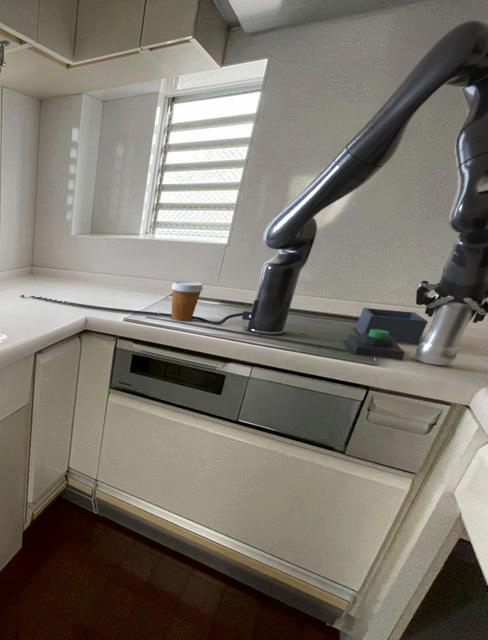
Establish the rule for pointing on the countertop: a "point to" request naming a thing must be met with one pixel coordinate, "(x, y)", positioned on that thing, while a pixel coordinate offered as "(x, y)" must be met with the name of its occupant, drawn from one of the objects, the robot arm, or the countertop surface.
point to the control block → (375, 346)
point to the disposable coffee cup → (184, 299)
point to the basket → (393, 324)
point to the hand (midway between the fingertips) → (452, 316)
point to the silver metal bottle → (445, 333)
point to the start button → (378, 333)
